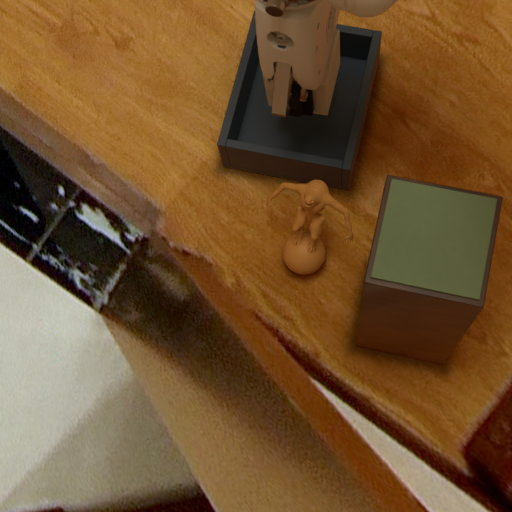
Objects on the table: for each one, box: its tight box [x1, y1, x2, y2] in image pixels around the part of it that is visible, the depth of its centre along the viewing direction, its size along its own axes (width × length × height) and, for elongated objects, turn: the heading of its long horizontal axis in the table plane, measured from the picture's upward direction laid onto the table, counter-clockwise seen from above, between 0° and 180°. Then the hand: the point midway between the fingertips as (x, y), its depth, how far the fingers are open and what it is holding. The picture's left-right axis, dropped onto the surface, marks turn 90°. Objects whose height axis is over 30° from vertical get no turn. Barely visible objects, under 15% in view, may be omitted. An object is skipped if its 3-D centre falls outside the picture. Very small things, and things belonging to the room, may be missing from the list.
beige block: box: [263, 29, 340, 116], centre depth 77 cm, size 6×6×6 cm
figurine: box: [266, 180, 354, 276], centre depth 76 cm, size 8×6×12 cm
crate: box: [216, 9, 383, 192], centre depth 83 cm, size 13×15×5 cm
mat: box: [371, 179, 497, 300], centre depth 58 cm, size 7×7×1 cm
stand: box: [355, 174, 504, 366], centre depth 68 cm, size 8×8×22 cm
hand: (303, 79), depth 79 cm, fingers closed on beige block, 5 cm apart
